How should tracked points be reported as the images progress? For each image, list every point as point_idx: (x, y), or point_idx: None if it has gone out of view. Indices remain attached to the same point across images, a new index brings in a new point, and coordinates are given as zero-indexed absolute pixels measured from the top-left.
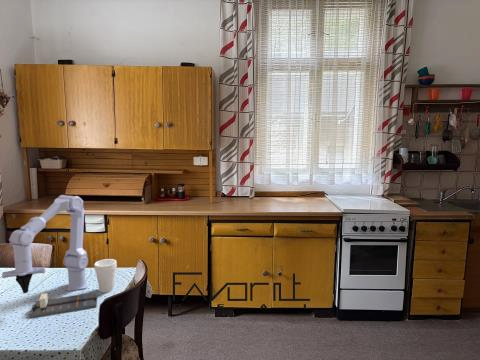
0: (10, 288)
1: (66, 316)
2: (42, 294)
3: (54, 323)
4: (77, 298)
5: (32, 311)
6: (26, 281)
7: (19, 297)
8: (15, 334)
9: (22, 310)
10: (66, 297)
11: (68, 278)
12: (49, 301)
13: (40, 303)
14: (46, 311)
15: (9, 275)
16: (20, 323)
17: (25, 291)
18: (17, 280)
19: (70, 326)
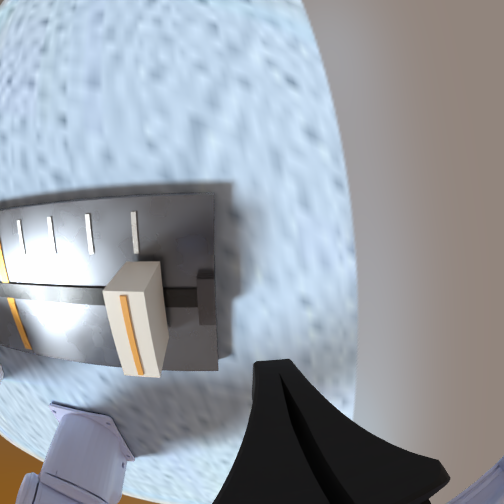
0: None
1: (29, 152)
2: (151, 367)
3: (74, 85)
4: (17, 316)
5: (207, 246)
6: (275, 480)
7: None
8: (263, 30)
9: (277, 311)
10: (69, 353)
11: (106, 467)
12: None
13: (148, 275)
14: (116, 214)
15: (483, 493)
16: (261, 142)
17: (272, 370)
18: (427, 470)
19: (24, 54)
